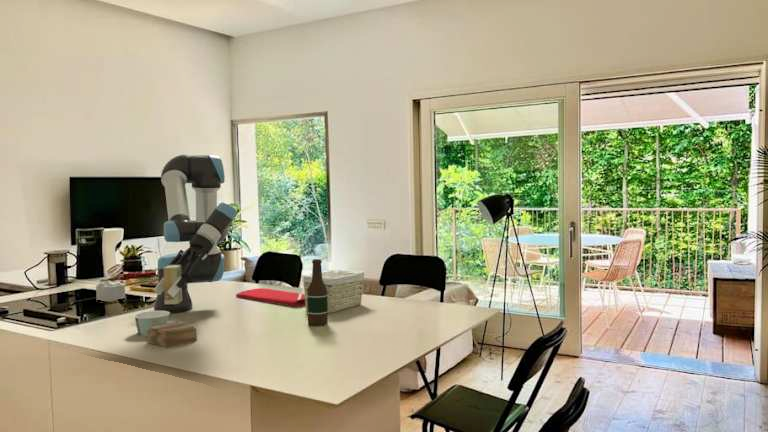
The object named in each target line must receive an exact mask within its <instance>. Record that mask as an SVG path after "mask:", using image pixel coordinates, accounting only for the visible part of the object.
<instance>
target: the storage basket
mask: <svg viewBox="0 0 768 432" xmlns="http://www.w3.org/2000/svg"><path fill="white" fill-rule="evenodd" d="M322 280H323V283H324V284H325V286H326V289H327V300H328V314H331V313H335V312H339V311H343V310H346V309H350V308H351V309H352V308H353V307H357V306H360V305H362V298H363V291H364V289H363V288H364V282H365V281H364V280H365V272H364V271H361V270H360V271H359V270H350V269H349V270H347V269H346V270H345V269H334V270H333V269H331V270H326V271H322ZM311 281H312V273H308V274H305V275H303V279H302V282H303V290H304V291H303V292H304V293H303V294H305V306H304V307H305V309H306V310H308V308H307V291H308V287H309V285H310V283H311Z"/></svg>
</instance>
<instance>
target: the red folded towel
mask: <svg viewBox="0 0 768 432" xmlns="http://www.w3.org/2000/svg"><path fill="white" fill-rule="evenodd" d="M235 296H236V298H240V299H246V300H251V301H256V302H263V303H270V304H277V305H284V306H292V307H306V306H305V294H304V293H297V292H291V291H283V290H279V289H278V290H277V289H270V288H252V289H248V290H243V291H241V292H238V293H236V294H235Z"/></svg>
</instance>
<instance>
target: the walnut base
mask: <svg viewBox="0 0 768 432" xmlns="http://www.w3.org/2000/svg"><path fill="white" fill-rule="evenodd" d="M197 330H198V329H197V328H196V327H195V325H193V324H189V323H184V322H180V321H174V322H173V321H172V322H168V323H167V324H163V325H158V326H153V327H150V330H148V336H147V343H148V344H149V343H150V344H153V345H156V346H160V347H164V348H166V349H167V348H171V347H175V346H179V345H183V344H187V343H191V342H195V341H198V334H197Z"/></svg>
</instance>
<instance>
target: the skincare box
mask: <svg viewBox="0 0 768 432" xmlns="http://www.w3.org/2000/svg"><path fill="white" fill-rule="evenodd" d="M180 274H181V265H168V266H166V267H164V301H165V304H178V303H180V302H181V301H182V288H181V289H180V290H179V291H178V293H177V294H176V295H175V297H174V298H173V297H172V296H171V295H169V294H168V293H167V292H168V290H169V289H170V288H171V287H172V285H173V284H174V283H175V281H176V280H177V279H178V277H179V276H181V275H180Z"/></svg>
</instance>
